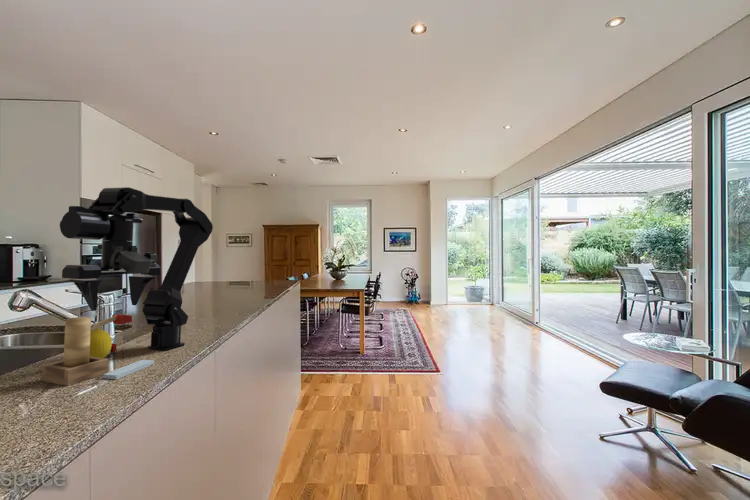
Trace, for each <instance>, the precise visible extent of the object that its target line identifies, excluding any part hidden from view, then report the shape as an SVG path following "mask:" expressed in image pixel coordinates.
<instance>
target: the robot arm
mask: <svg viewBox="0 0 750 500" xmlns="http://www.w3.org/2000/svg"><path fill="white" fill-rule="evenodd" d="M141 211H142V212H143V211H161V212H172V214H174V222H175V223H176V224H177V226H178V227H179V230H178V235H179V241H180V242H179V243H178V244H179V245H178V247H177V249H176V250H175V254H174V256H173V258H172V260H171V263H170V265H169V267H168V269H167V272H166V274H165V276H164V278H163V281H162V283H161V285H160V286H159V287H158V288H157V289H149V291H148V292H147V295H146V298H145V299H144V301H143V302H142V305H143V306H142V313H143V315H144V317H145V321H146V323H147V325H148V326H150V325H152V331H151V333H150V334H151V335H150V345H147V346H146V347H147V349H152V350H160V351H167V350H171V349H174V348H178V347H181V346H185V344H186V343H185V342H183V341H181V338H182V337H181V334H182V333H181V332H182V326H183V325H187V322H188V319H189V316H188V314H187V313H186V312H185V311H184V309H182V304H183V297H182V293H181V291H182V288H183V285H184V283H185V281H186V279H187V276H188V274H189V271H190V269H191V266H192V264H193V261H194V259H195V257H196V254H197V251H198V249H199V248H200V246H201V245H203V244H204V243H205V242H206V241H208V239H209V238H210V236H211V233H212V232H213V228H214V225H213V223H212V222H211V220H210V219H209V217H208V216H207V214H206V213H205V212H204V211H202V210H200V209H199V208H198V207H197V206H195V205H194V203H193V201H192V200H190V199H188V198H176V197H168V196H161V195H160V196H159V195H153V194H152V195H151V194H147V193H145V192H143V191H142V190H139V189H136V188H132V187H128V186H127V187H125V186H123V187H104V188H102V190H100V192H99V194H98V197H97V198H96V199H95V200H94V201H93V202H92V203H91V204H90V206H88V208H87V207H84V206H79V205H69V206H68V211H67V212H65V214H64V215H63V216H62V217H61V218H62V219H61V220H60V221H59V229H60V233H61V234H62V236H63V237H65V238H67V239H74V240H75V239H76V240H92V241H93V240H94V241H95V240H96V241H99V240H101V244H98V245H97V250H101V260H100V262H99V261H98V262H96V264H66V265H65V266H64V267H63V268H62V270H61V279H68V283H73V284H74V285H75V286H76V288H77V289H78V290H79V292H80V293H81V295H82V298H84V301H85V302H86V303H87V306H88V308H89V309H90V311H93V312H96V311H97V308H98V297H99V295H98V293H99V286H100V285H101V283H102V281H103V280H102V279H98V278H100V277H101V276H110V275H111V276H113V275H115V276H116V275H129V276H128V283H129V284H128V286H129V295H130V300H131V305H132V306H137V305H138V302H139V301H140V298H141V295H143V292H144V289H145V288H146V285H147V284H148V283H150V282H151V281H152V280H153V279H154V280H155V279H156V278H157V277H156V276H161V273H162V271H161V269H162V268H161V266H160V265H159V264H158V254H157V253H155V252H148V251H147V252H145V253H139V252H138V247H137V245H134V244H133V243H134V241H133V240H134V224H142V223H143V221H142V219H141V218H140V217H138V216H137V215H136V213H134V212H141ZM125 213H126V214H125ZM184 213H185V214H187V216H188V217H186V216H185V214H184ZM131 274H132V275H131Z"/></svg>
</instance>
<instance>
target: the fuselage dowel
mask: <svg viewBox="0 0 750 500" xmlns="http://www.w3.org/2000/svg"><path fill="white" fill-rule="evenodd" d="M91 321H92V317H89V316H78V317H77V316H76V317H70V318H66V319H65V322H64V343H63V344H64V345H63V350H64V351H63V360H64V367H67V368H73V367H76V366H80V365H84V364H87V363H89V357H90V330H91V325H92V322H91Z"/></svg>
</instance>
